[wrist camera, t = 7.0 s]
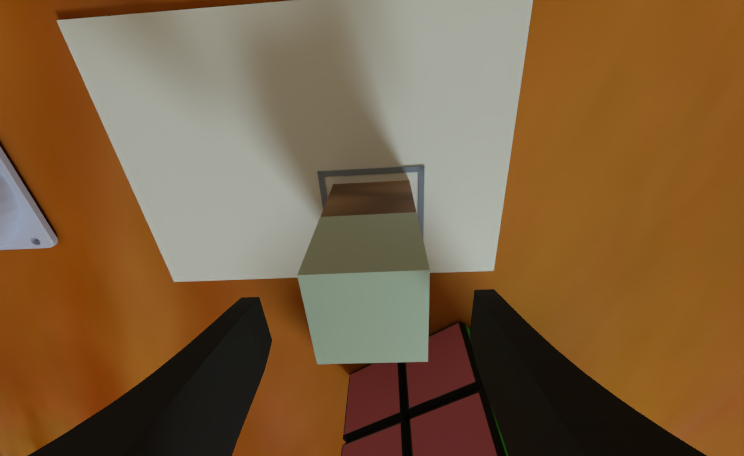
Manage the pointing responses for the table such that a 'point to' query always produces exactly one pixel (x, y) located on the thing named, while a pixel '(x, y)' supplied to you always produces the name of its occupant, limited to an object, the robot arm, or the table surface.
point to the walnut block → (369, 199)
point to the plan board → (307, 121)
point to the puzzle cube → (423, 405)
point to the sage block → (367, 289)
